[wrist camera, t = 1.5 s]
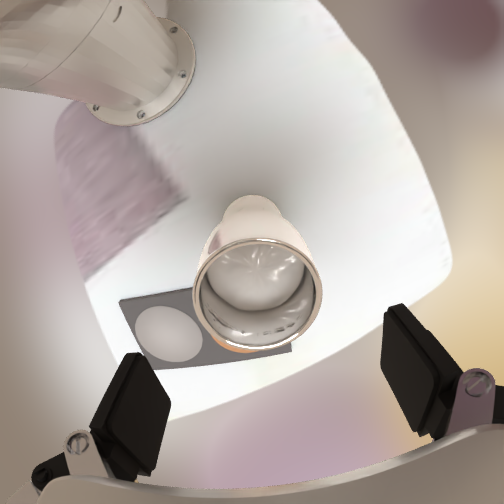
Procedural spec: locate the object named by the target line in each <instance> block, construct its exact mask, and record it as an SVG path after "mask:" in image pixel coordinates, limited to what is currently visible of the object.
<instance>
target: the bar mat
mask: <svg viewBox="0 0 504 504" xmlns="http://www.w3.org/2000/svg"><path fill="white" fill-rule="evenodd" d="M192 292H193V288H188V289H183V290H177V291H172V292H166V293H160V294H155V295H149V296H143V297H137V298H131V299H126V300H120V301H119V305H120V307H121V310H122V312H123V314H124V316H125V318H126V320H127V323H128V325H129V327H130V329H131V331H132V333H133V335H134V337H135V339H136V341H137V343H138V345H139V347H140V349H141V350H142V352H143V354H144V356H145V357H146V358H147V360H148V362H149V363H150V365H151V367H152V369H153V370H162V369H175V368H186V367H196V366H205V365H214V364H222V363H229V362H236V361H243V360H249V359H255V358H261V357H267V356H272V355H278V354H283V353H288V352H292V349H291V343H288V344H286V345H283V346H281V347H278V348H274V349H269V350H262V351H250V350H243V349H238V348H235V347H232V346H229V345H227V344H225V343H223V342H221V341H219V340H218V339H216V338H215V337H214V336H212V335H211V334H210V333H209V332H208V331H207V330H206V329H205V328H204V326H203V325H202V324H201V322H200V321H199V319H198V317H197V315H196V312H195V309H194V305H193V297H192Z"/></svg>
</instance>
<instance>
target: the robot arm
mask: <svg viewBox="0 0 504 504" xmlns="http://www.w3.org/2000/svg"><path fill="white" fill-rule="evenodd" d="M174 32H176V33H174ZM195 61H196V57H195V49H194V46H193V43H192V40H191V39H190V37H189V35H188V33H187V32H186V31H185V30H184V29H183V28H182V27H181V26H180V25H178V24H177V23H175V22H173V21H171V20H168V19H166V18H160V17H156V16H155V15H154V14H153V12H152V11H151V10H150V8H149V7H148V6H147V4H146V3H145V2H144V0H0V88H8V89H14V90H21V91H29V92H35V93H41V94H46V95H52V96H57V97H62V98H67V99H72V100H77V101H81V102H85V103H86V106H87V108H88V109H89V110H90V112H91V113H92V114H93V115H94V116H95V117H97V118H98V119H99V120H101V121H103V122H105V123H108V124H111V125H116V126H134V125H139V124H143V123H146V122H149V121H151V120H153V119H155V118H157V117H159V116H160V115H162V114H163V113H164V112H166V111H167V110H169V109H170V108H171V107H172V106H173V105H174V104H175V103H176V102H177V101H178V100H179V99H180V97H181V96H182V95H183V93H184V92H185V91H186V89H187V87H188V85H189V83H190V81H191V79H192V76H193V73H194V69H195ZM184 74H186V77H184V78H182V76H183V75H184ZM98 109H99V110H98ZM144 113H145V116H144V117H143V118H142V115H143V114H144ZM380 365H381V369H382V372H383V374H384V375H385V378H386V380H387V381H388V383H389V385H390V387H391V389H392V391H393V393H394V395H395V397H396V399H397V401H398V403H399V405H400V407H401V409H402V411H403V413H404V415H405V417H406V419H407V421H408V423H409V425H410V427H411V429H412V431H413V432H417V433H418V435H419V437H421V436H424V435H426V434H428V433H429V434H430V436H431V438H433V440H432V442H431V443H429V444H427V445H424V446H422V447H419V448H417V449H415V450H412V451H410V452H407V453H405V454H402V455H399V456H397V457H394V458H391V459H389V460H385V461H382V462H380V463H377V464H373V465H371V466H367V467H364V468H361V469H357V470H353V471H350V472H346V473H342V474H339V475H334V476H330V477H325V478H321V479H315V480H310V481H305V482H298V483H292V484H285V485H277V486H268V487H257V488H242V489H194V488H193V489H192V488H178V487H167V486H157V485H149V484H142V483H139V482H138V480H137V475H142V476H151V472H152V470H154V469H155V467H156V463H157V459H158V455H159V451H160V447H161V442H162V439H163V435H164V431H165V427H166V423H167V419H168V416H169V412H170V408H171V401H170V398H169V396H168V395H167V393H166V392H165V390H164V388H163V386H162V385H161V383H160V381H159V380H158V378H157V376H156V374H155V373H154V371H153V369H152V367H151V365H150V363H149V362H148V360H147V358H146V357H145V356H143V355H142V354H141V353H139V352H137V353H127V354H126V355H125V356H124V358H123V360H122V362H121V364H120V365H119V367H118V369H117V371H116V373H115V375H114V377H113V379H112V381H111V383H110V385H109V387H108V389H107V391H106V392H105V394H104V397H103V398H102V401H101V402H100V404H99V407H98V409H97V411H96V413H95V415H94V417H93V419H92V421H91V423H90V425H89V427H90V428H91V431H90V433H89V432H88V431H86V430H77V431H74V432H73V433H71V434H70V435H69V436H68V437H67V438H66V440H65V441H64V445H63V447H64V452H63V453H61V454H59V455H57V456H55V457H53V458H51V459H49V460H47V461H45V462H43V463H41V464H39V465H38V466H36V468H35V469H34V470H33V473H32V477H31V478H32V482H31V481H30V480H28V481H27V482H26V483H25V484H24V485H23V486H22V487H20V488H19V489H18V490H17V491H16V492H15V493H14V494H12V495H11V496H10V497H9V498H8V499H7V501H6V503H5V504H504V386H498V385H495V380H494V378H493V376H492V375H491V374H490V373H489V372H488V371H486V370H484V369H480V368H473V369H470V370H467V371H466V372H463V371H462V370H461V368H460V367H459V366H458V365H457V363H456V362H455V361H454V360H453V358H452V357H451V356H450V355H449V353H448V352H447V351H446V350H445V349H444V347H443V346H442V345H441V344H440V343H439V341H438V340H437V339H436V338H435V337H434V336H433V334H432V333H431V332H430V331H429V330H426V329H425V328H424V327H423V325H421V323H420V322H419V321H418V320H417V319H416V317H415V316H414V315H413V314H412V313H411V312H410V311H409V309H408V308H407V307H406V306H405V305H404V304H403V303H401V304H397V305H394V306H391V307H389V308H388V310H387V312H385V313H384V321H383V337H382V350H381V361H380Z"/></svg>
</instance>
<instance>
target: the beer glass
mask: <svg viewBox="0 0 504 504" xmlns="http://www.w3.org/2000/svg"><path fill="white" fill-rule="evenodd" d="M192 297H193V305H194V309H195V312H196V315H197V317H198V319H199V321H200V322H201V324H202V325H203V326H204V328H205V329H206V330H207V331H208V332H209V333H210V334H211V335H212V336H214V337H215V338H216V339H218V340H219V341H221V342H223V343H225V344H227V345H229V346H232V347H235V348H238V349H243V350H250V351H262V350H269V349H274V348H278V347H281V346H283V345H286V344H288V343H290V342H292V341H293V340H295V339H297V338H298V337H299V336H301V335H302V334H303V333H304V332H305V331H306V330H307V329H308V328H309V327H310V326H311V324H312V323H313V321H314V320H315V318H316V316H317V314H318V312H319V309H320V306H321V302H322V283H321V279H320V276H319V273H318V271H317V269H316V267H315V264H314V261H313V259H312V256H311V253H310V251H309V249H308V247H307V245H306V243H305V241H304V239H303V238H302V236H301V235H300V234H299V232H298V231H297V230H296V229H295V227H294V226H293V225H292V224H291V223H290V222H289V221H287V220H286V219H285V218H283V217H282V215H281V213H280V211H279V209H278V207H277V206H276V205H275V204H274V203H273V202H272V201H271V200H269V199H267V198H265V197H263V196H259V195H246V196H242V197H240V198H238V199H236V200H234V201H233V202H232V203H231V204H230V205H229V206H228V207H227V209H226V210H225V212H224V215H223V218H222V222H221V223H219V224H218V225H217V226H216V228H215V229H214V230H213V231H212V233H211V234H210V236H209V238H208V240H207V241H206V243H205V245H204V248H203V251H202V254H201V257H200V260H199V264H198V268H197V274H196V278H195V281H194V284H193V292H192Z"/></svg>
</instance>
